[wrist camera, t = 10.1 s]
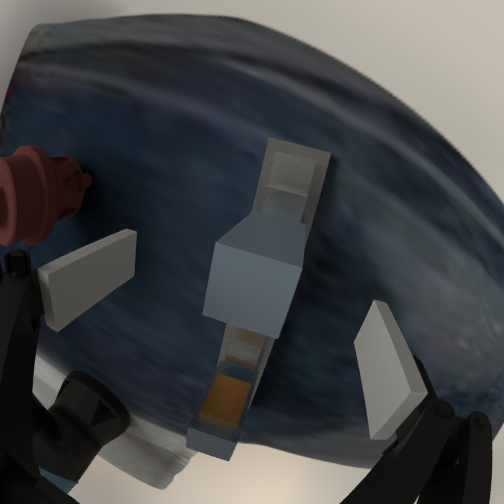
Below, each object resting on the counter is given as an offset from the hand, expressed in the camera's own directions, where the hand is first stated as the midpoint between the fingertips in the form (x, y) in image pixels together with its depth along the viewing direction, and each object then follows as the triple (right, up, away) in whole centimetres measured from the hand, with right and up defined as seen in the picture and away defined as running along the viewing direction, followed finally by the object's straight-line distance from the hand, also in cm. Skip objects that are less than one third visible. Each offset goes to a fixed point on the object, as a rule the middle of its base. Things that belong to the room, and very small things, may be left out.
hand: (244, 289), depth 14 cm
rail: (+1, -3, +12) cm, 13 cm away
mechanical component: (-20, +10, +13) cm, 26 cm away
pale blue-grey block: (+2, +3, +7) cm, 8 cm away
